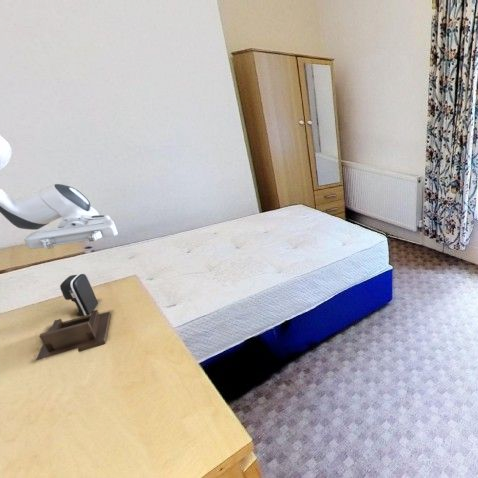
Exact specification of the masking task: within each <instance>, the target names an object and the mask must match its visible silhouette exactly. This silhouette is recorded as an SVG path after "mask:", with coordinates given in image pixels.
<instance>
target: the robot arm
mask: <svg viewBox="0 0 478 478" xmlns="http://www.w3.org/2000/svg"><path fill="white" fill-rule="evenodd" d="M12 154H13V153H12V147H11V145H10V143H9V142H8V140H6V139H5V137H3V136H2V135H1V134H0V171H2V170H3V169H4V168H5V167H6V166H7V165H8V163H9V162H10V160H11V158H12ZM0 214H1V215H2V216H3V217H4V218H5V219H6V220H7V221H8V222H9V223H11V224H12V225H13V226H15V227H16V228H18V229H22V230H29V231H30V230H33V232H31V233H30V234H28V235H27V236H25V238H24V242H25V245H26V246H27V248H28V249H30V250H37V249H42V248H44V250H49V249H54V247H55V246H56V247H57V246H61V245H67V244H75V243H84V242H89V243H92V242H93V243H94V242H97V240H99V239H103V238H110V237H116V236H118V234H119V232H118V230H117V229H118V228H117V226H116V224H115V222H114V220H112V218H111V216H110V215H108V214H105V215H104V214H103V215H102V214H100V213H99V212H98V210H96V208H94V207H93V206H91V203H90V200H89V199H88V198H87V196H85V195H84V194H83V193H82V192H80V190H78V189H77V188H75V187H73V186H70V185H66V184H62V183H61V184H60V183H55V184H53V185H50V186H47V187H45V188H42V189H40V190H39V191H35V192H34V193H31V194H29V195H27V196H25V197H22V198H12V197H11V196H10V195H9V194H8V193H7V192H5V191H4V190H3V189H2V188H0ZM61 218H62V219H61ZM58 219H61V221H60V222H59V223H58V225H57V227H55V228H49V229H42V228H43V227H45V226H47V225H49V224H50V223H52V222H54V221H56V220H58ZM40 229H41V230H40ZM34 230H35V231H34Z"/></svg>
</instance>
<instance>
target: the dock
mask: <svg viewBox="0 0 478 478" xmlns="http://www.w3.org/2000/svg"><path fill="white" fill-rule="evenodd" d="M111 317H112V313H111V311H107V312H103V313H99V310H98V309H94V310H93V311H92V312H91V313H90V314H89V315H86V316H80V317H77V318H73V319H69V320H66V321H63V320H62V318H59V319H55V320H53V323H52V325H51V326H50V327H49V330H48V331H47V332H43V333H40V334H39V338H40V340H41V342H42V346H41V347H40V350H39V352H38V354H37V357H36V360H35V361H39V360H42V359H47V358H50V357H53V356H56V355H60V354H64V353H67V352H70V351H73V350H77V351H78V352H82V351H86V350H89V349H93V348H95V347H99V346H102V345H105V344H107V338H108V333H109V328H110V322H111Z"/></svg>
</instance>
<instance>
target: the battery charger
mask: <svg viewBox="0 0 478 478" xmlns="http://www.w3.org/2000/svg"><path fill="white" fill-rule="evenodd" d="M59 289H60V291H61V294H62V296H63V298H64V300H66V301H70V300H71V302H74V303H75V306H76V307H77V309H78V311H77V312H76V314H75V315H76V316H77V317H85V316H89V315H91V312H92V311H94V310H95V309H96V307H97V306H98V304H99V300H98V298H97V297H96V294H95V292H94V290H93V287H92V285H91V283H90V280H89V278H88V276H87V275H86V274H85V273H78V274H72V275H69V276H68V277H66V278H65V279H64V281H62V282H61V284H60V288H59Z"/></svg>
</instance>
